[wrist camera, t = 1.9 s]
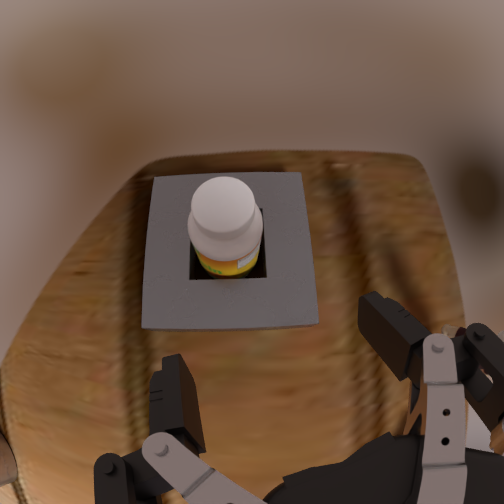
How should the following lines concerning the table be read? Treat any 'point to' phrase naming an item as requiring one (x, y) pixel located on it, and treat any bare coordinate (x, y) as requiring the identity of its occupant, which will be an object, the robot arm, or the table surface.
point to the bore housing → (229, 290)
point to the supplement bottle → (225, 227)
